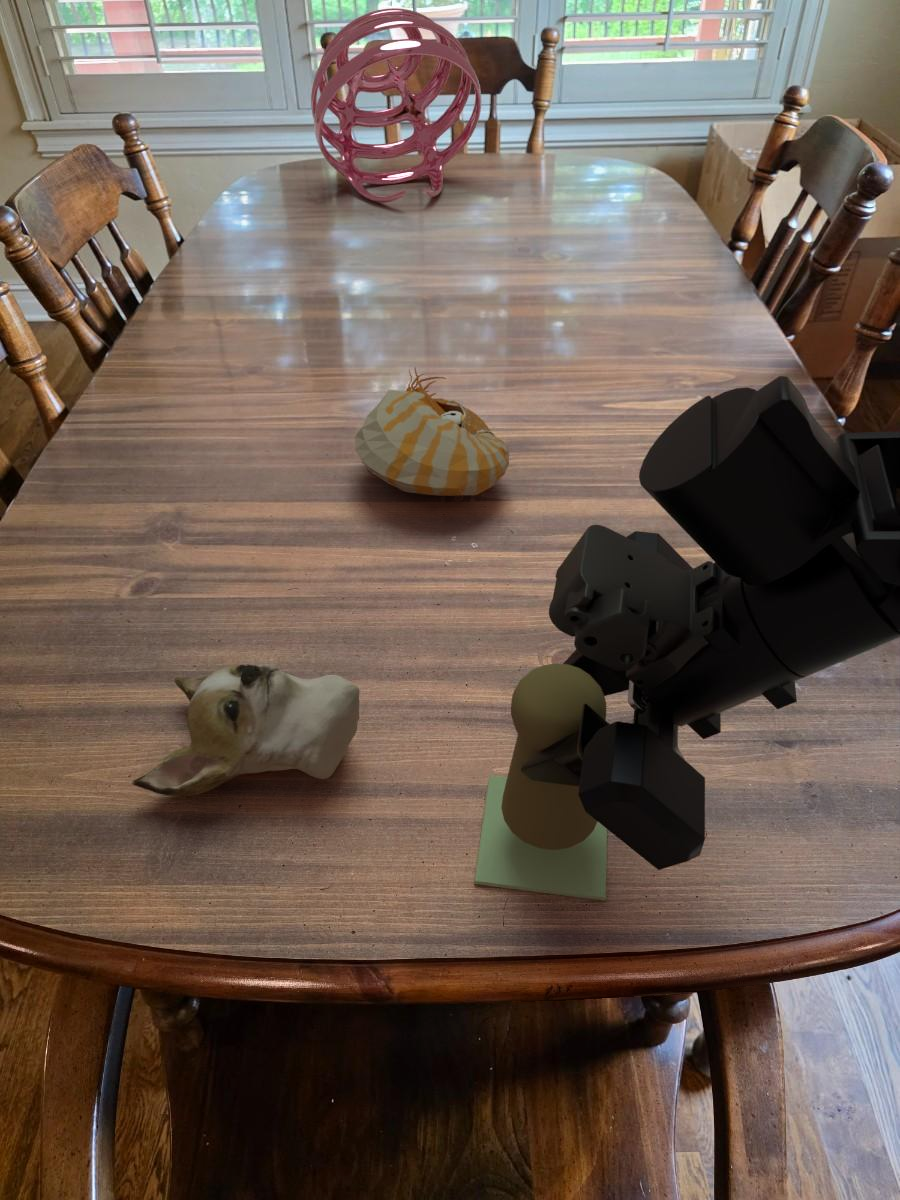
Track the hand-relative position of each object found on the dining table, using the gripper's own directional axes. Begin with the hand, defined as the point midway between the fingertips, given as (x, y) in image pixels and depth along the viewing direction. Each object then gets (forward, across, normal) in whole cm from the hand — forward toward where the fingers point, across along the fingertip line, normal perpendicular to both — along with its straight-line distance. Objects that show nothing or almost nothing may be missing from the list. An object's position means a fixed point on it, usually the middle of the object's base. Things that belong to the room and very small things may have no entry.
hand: (532, 735), depth 49 cm
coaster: (+6, 0, +8) cm, 10 cm away
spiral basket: (+36, -124, -22) cm, 131 cm away
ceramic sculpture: (+20, -3, -7) cm, 22 cm away
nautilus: (+18, -41, -4) cm, 45 cm away
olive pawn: (+4, 0, +6) cm, 7 cm away
